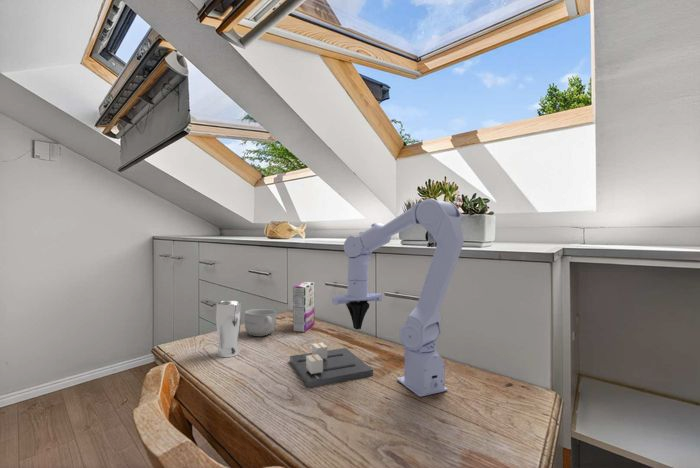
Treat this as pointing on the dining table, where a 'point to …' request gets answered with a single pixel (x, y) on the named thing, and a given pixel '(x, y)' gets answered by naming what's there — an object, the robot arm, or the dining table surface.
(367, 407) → the dining table surface
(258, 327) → the teacup
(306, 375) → the fader console
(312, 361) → the fader near
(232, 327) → the beer glass
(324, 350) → the fader far
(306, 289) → the candy bar box
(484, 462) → the dining table surface
